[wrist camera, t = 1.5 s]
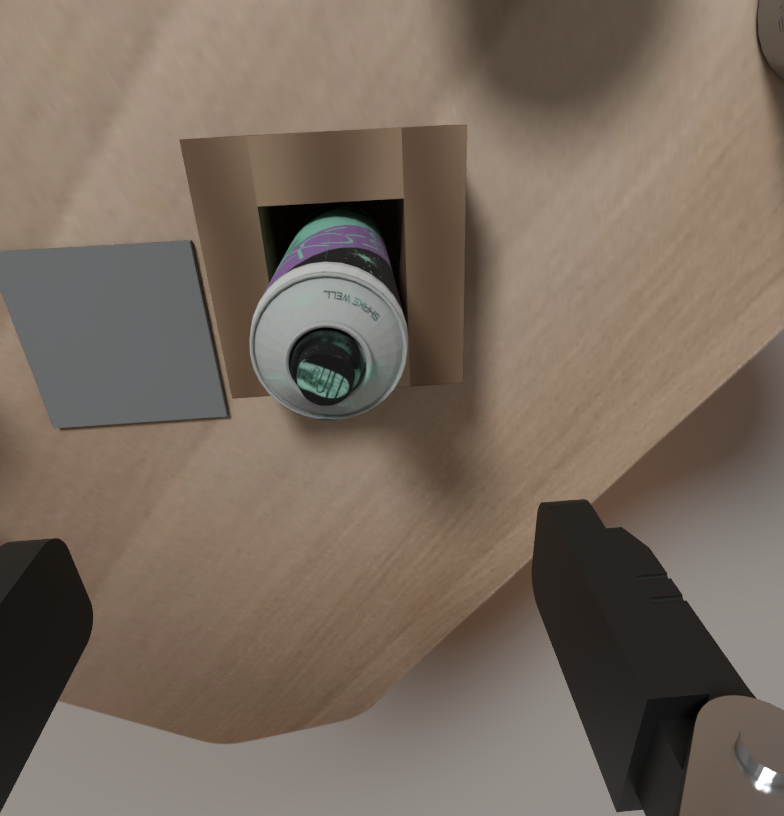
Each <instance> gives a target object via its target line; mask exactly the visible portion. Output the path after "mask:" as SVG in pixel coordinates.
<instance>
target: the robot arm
mask: <svg viewBox="0 0 784 816" xmlns="http://www.w3.org/2000/svg"><path fill="white" fill-rule="evenodd" d="M758 35H759V39H760V43H761V47H762V51H763V54H764V55H765V57H766V59H767V61H768V63H769V65H770V67H771V68H772V69H773V70H774V71H775V72H776V73H777V74H778V75H779V76H780V77H781V78H782V79H784V0H759V7H758ZM532 584H533V591H534V596H535V600H536V604H537V607H538V609H539V612H540V615H541V617H542V620H543V622H544V625H545V628H546V630H547V633H548V635H549V638H550V641H551V643H552V646H553V648H554V651H555V654H556V656H557V659H558V661H559V664H560V667H561V669H562V672H563V674H564V677H565V680H566V682H567V685H568V687H569V690H570V692H571V695H572V698H573V700H574V703H575V706H576V708H577V711H578V713H579V716H580V719H581V721H582V724H583V726H584V729H585V731H586V734H587V737H588V739H589V742H590V744H591V747H592V750H593V752H594V755H595V757H596V760H597V763H598V765H599V768H600V770H601V773H602V776H603V778H604V781H605V783H606V786H607V788H608V791H609V794H610V796H611V799H612V801H613V804H614V807H615V809H616V812H623V811H632V810H644V813H645V815H646V816H784V710H782V709H780V708H778V707H776V706H774V705H772V704H770V703H767V702H764V701H762V700H759V699H757V698H756V697H755V696H754V695H753V694H752V692H751V691H750V690H749V689H748V687H747V686H746V684H745V683H744V682H743V680H742V679H741V677H740V676H739V674H738V673H737V672H736V670H735V669H734V667H733V666H732V664H731V663H730V662H729V660H728V659H727V657H726V656H725V655H724V653H723V652H722V650H721V649H720V648H719V646H718V645H717V643H716V642H715V640H714V639H713V638H712V636H711V635H710V634H709V632H708V631H707V629H706V628H705V626H704V625H703V623H702V622H701V621H700V619H699V618H698V616H697V615H696V614H695V612H694V611H693V609H692V608H691V607H690V605H689V604H688V602H687V601H684V600H683V598H682V594H681V592H680V591H679V589H678V588H677V587H676V585H675V584H674V582H673V581H672V579H671V578H670V579H668V577H667V572H666V571H665V570H664V568H663V567H662V565H661V564H660V562H659V561H658V560H657V558H656V557H655V555H654V554H653V553H652V551H651V550H650V548H649V547H647V546H646V545H645V544H643V543H642V542H641V541H639V540H638V539H637V538H635V537H634V536H633V535H631V534H630V533H629V532H627V531H626V530H625V529H623V528H622V527H618V528H605V526H604V524H603V523H602V521H601V520H600V518H599V516H598V515H597V513H596V512H595V510H594V509H593V507H592V505H591V504H590V503H589V502H588V501H587V500H585V499H581V500H568V501H555V502H542V503H541V504H540V505H539V508H538V512H537V521H536V532H535V542H534V552H533V562H532ZM92 625H93V609H92V605H91V602H90V599H89V597H88V594H87V592H86V590H85V587H84V585H83V583H82V580H81V578H80V576H79V573H78V571H77V568H76V566H75V564H74V561H73V559H72V557H71V554H70V552H69V549H68V547H67V545H66V544H65V543H64V542H63V541H62V540H60V539H56V538H54V539H41V540H28V541H15V542H8V543H5V544H4V545H2V546H1V547H0V812H1V810H2V808H3V806H4V804H5V802H6V800H7V798H8V796H9V794H10V793H11V791H12V789H13V786H14V785H15V783H16V781H17V779H18V777H19V775H20V773H21V771H22V769H23V767H24V765H25V763H26V761H27V760H28V758H29V756H30V753H31V752H32V750H33V748H34V746H35V744H36V742H37V740H38V738H39V736H40V734H41V732H42V730H43V728H44V726H45V724H46V722H47V721H48V719H49V717H50V715H51V713H52V711H53V709H54V707H55V705H56V703H57V701H58V699H59V697H60V695H61V694H62V692H63V690H64V688H65V686H66V684H67V682H68V680H69V678H70V676H71V674H72V672H73V670H74V668H75V666H76V664H77V662H78V661H79V659H80V657H81V655H82V653H83V651H84V649H85V647H86V645H87V643H88V641H89V638H90V635H91V631H92Z"/></svg>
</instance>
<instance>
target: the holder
mask: <svg viewBox="0 0 784 816" xmlns="http://www.w3.org/2000/svg"><path fill="white" fill-rule="evenodd" d="M180 145H181V149H182V154H183V159H184V164H185V169H186V174H187V179H188V184H189V189H190V194H191V198H192V203H193V208H194V213H195V218H196V223H197V228H198V233H199V238H200V242H201V247H202V252H203V257H204V262H205V267H206V272H207V277H208V282H209V287H210V291H211V296H212V301H213V306H214V311H215V316H216V321H217V326H218V331H219V335H220V340H221V345H222V350H223V355H224V360H225V365H226V370H227V375H228V380H229V384H230V389H231V394H232V399H233V398H247V397H262V396H271V395H270V394H269V393H268V392H267V391H266V389H265V388H264V387H263V385H262V384H261V383H260V381H259V379H258V377H257V375H256V373H255V371H254V369H253V365H252V361H251V357H250V343H249V339H250V330H251V324H252V319H253V315H254V313H255V310H256V308H257V305H258V303H259V301H260V299H261V297H262V296H263V294H264V292H265V290H266V288H267V286H268V285H269V283H270V281H271V279H272V277H273V276H274V274H275V272H276V270H277V268H278V266H279V265H280V263H281V261H282V259H283V257H284V255H285V252H284V245H283V237H282V230H281V222H280V215H279V208H278V205H295V204H313V203H330V202H348V201H366V200H383V199H395V214H396V238H397V263H398V287H399V298H400V302H401V306H402V309H403V313H404V317H405V321H406V324H407V332H408V350H407V358H406V364H405V367H404V371H403V374H402V377H401V378H400V380H399V382H398V384H397V385H396V387H409V386H423V385H438V384H453V383H463V337H464V275H465V213H466V151H467V125H442V126H423V127H404V128H385V129H365V130H346V131H327V132H308V133H288V134H269V135H250V136H231V137H212V138H197V139H182V140H180Z"/></svg>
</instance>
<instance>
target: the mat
mask: <svg viewBox="0 0 784 816" xmlns="http://www.w3.org/2000/svg"><path fill="white" fill-rule="evenodd" d="M0 290H1V293H2V295H3V298H4V301H5V303H6V306H7V308H8V311H9V314H10V316H11V319H12V321H13V324H14V326H15V329H16V332H17V334H18V337H19V339H20V342H21V345H22V347H23V350H24V352H25V355H26V358H27V360H28V363H29V365H30V368H31V370H32V373H33V376H34V378H35V381H36V383H37V386H38V389H39V391H40V394H41V396H42V399H43V402H44V404H45V407H46V409H47V412H48V414H49V417H50V420H51V422H52V425H53V427H54V428H67V427H82V426H96V425H111V424H125V423H139V422H154V421H168V420H183V419H197V418H212V417H226V416H227V415H228V410H227V406H226V401H225V396H224V391H223V387H222V382H221V377H220V372H219V368H218V363H217V358H216V353H215V349H214V344H213V339H212V335H211V330H210V325H209V320H208V316H207V311H206V306H205V301H204V297H203V292H202V287H201V283H200V278H199V273H198V268H197V264H196V259H195V254H194V249H193V245H192V240H189V241H171V242H154V243H137V244H120V245H103V246H86V247H68V248H51V249H34V250H17V251H0Z"/></svg>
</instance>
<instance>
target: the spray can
mask: <svg viewBox="0 0 784 816" xmlns="http://www.w3.org/2000/svg"><path fill="white" fill-rule="evenodd" d="M249 343H250V357H251V361H252V365H253V369H254V371H255V373H256V375H257V377H258V379H259V381H260V383H261V384H262V385H263V387H264V388H265V389H266V391H267V392H268V393H269V394H270V395H271V396H272V397H273V398H274V399H275V400H276V401H277V402H279V403H280V404H281V405H283V406H284V407H286V408H288V409H289V410H291V411H293V412H295V413H298V414H300V415H303V416H305V417H309V418H314V419H318V420H341V419H349V418H352V417H355V416H358V415H362V414H364V413H366V412H368V411H369V410H371V409H373V408H375V407H376V406H378V405H379V404H380V403H381V402H383V401H384V400H385V399H386V398H387V397H388V396H389V395H390V393H391V392H392V391H393V390H394V389H395V387H396V385H397V384H398V382H399V380H400V378H401V377H402V374H403V371H404V367H405V364H406V358H407V350H408V332H407V324H406V321H405V317H404V313H403V309H402V306H401V302H400V298H399V294H398V291H397V287H396V283H395V279H394V275H393V272H392V268H391V264H390V260H389V257H388V253H387V249H386V245H385V242H384V238H383V235H382V232H381V230H380V228H379V226H378V224H377V223H376V221H375V220H374V219H373V218H372V216H371V215H370V214H368V213H367V212H366V211H365V210H363V209H362V208H360V207H358V206H356V205H353V204H349V203H343V202H335V203H329V204H326V205H323V206H321V207H319V208H317V209H316V210H314V211H313V212H312V213H311V214H310V215H308V216H307V217H306V219H305V220H304V222H303V223H302V225H301V226H300V228H299V230H298V232H297V234H296V235H295V237H294V239H293V241H292V243H291V244H290V246H289V248H288V250H287V252H286V254H285V255H284V257H283V259H282V261H281V263H280V265H279V266H278V268H277V270H276V272H275V274H274V276H273V277H272V279H271V281H270V283H269V285H268V286H267V288H266V290H265V292H264V294H263V296H262V297H261V299H260V301H259V303H258V305H257V308H256V310H255V313H254V315H253V319H252V324H251V330H250V339H249Z"/></svg>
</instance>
